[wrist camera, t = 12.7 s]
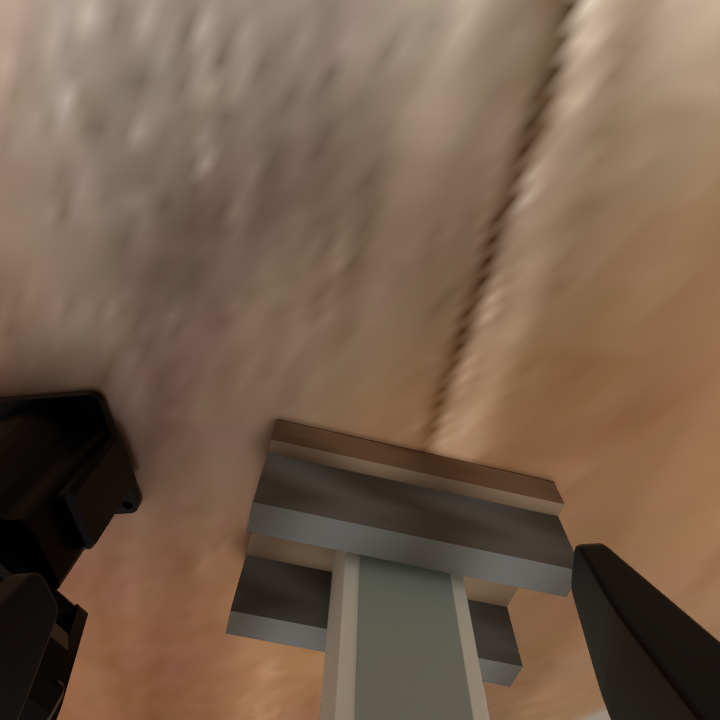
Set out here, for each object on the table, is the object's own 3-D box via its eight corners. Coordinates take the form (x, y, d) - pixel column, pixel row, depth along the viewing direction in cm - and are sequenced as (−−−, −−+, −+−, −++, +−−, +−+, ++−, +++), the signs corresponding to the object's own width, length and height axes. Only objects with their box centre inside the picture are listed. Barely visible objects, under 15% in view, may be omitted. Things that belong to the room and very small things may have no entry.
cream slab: (332, 561, 24) (299, 922, 14) (348, 511, 23) (325, 868, 12) (434, 581, 25) (479, 946, 14) (455, 534, 23) (525, 898, 13)
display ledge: (246, 562, 27) (223, 643, 23) (277, 419, 23) (256, 487, 19) (485, 609, 28) (504, 695, 24) (553, 481, 24) (590, 558, 20)
